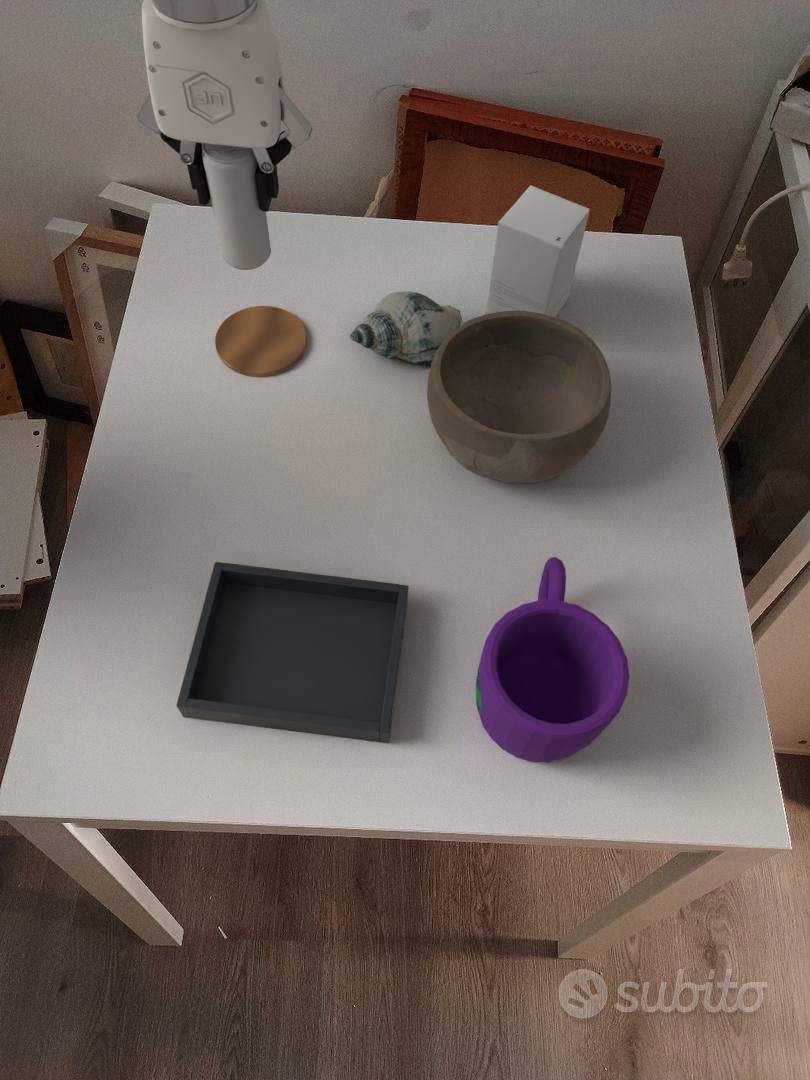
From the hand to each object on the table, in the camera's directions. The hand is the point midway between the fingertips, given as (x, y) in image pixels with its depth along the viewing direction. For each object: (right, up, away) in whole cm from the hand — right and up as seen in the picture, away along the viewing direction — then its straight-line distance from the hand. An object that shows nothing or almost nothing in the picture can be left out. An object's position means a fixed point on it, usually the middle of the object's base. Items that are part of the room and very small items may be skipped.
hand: (237, 196), depth 75 cm
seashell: (+15, -10, +17) cm, 25 cm away
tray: (+6, -41, -2) cm, 42 cm away
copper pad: (-1, -9, +16) cm, 19 cm away
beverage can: (0, -3, +6) cm, 7 cm away
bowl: (+26, -20, +11) cm, 35 cm away
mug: (+27, -43, -2) cm, 51 cm away
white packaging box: (+29, -4, +21) cm, 36 cm away
